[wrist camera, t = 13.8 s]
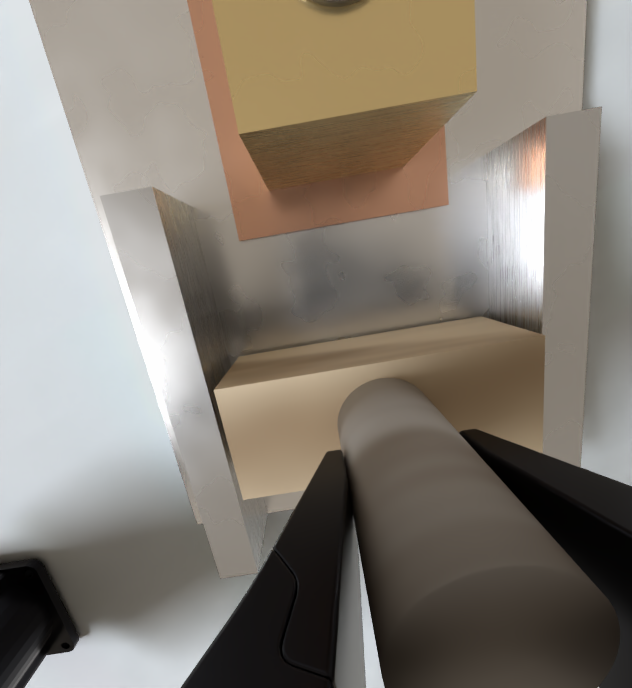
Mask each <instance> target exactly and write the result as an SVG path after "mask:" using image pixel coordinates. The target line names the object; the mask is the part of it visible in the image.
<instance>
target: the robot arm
mask: <svg viewBox="0 0 632 688" xmlns="http://www.w3.org/2000/svg"><path fill="white" fill-rule="evenodd" d="M459 434H460V435H461V436H462V437H463V438H464V439H465V440H466V441H467V442H468V444H469V445H470V446H471V447H472V448H473V449H474V450H475V451H476V452H477V454H478V455H479V456H480V457H481V458H482V459H483V460H484V461H485V463H486V464H487V465H488V466H489V467H490V468H491V469H492V470H493V471H494V473H495V474H496V475H497V476H498V477H499V478H500V479H501V480H502V481H503V483H504V484H505V485H506V486H507V487H508V488H509V489H510V490H511V491H512V493H513V494H514V495H515V496H516V497H517V498H518V499H519V500H520V502H521V503H522V504H523V505H524V506H525V507H526V508H527V509H528V510H529V512H530V513H531V514H532V515H533V516H534V517H535V518H536V519H537V520H538V522H539V523H540V524H541V525H542V526H543V527H544V528H545V529H546V531H547V532H548V533H549V534H550V535H551V536H552V537H553V538H554V539H555V541H556V542H557V543H558V544H559V545H560V546H561V547H562V548H563V549H564V551H565V552H566V553H567V554H568V555H569V556H570V557H571V558H572V559H573V561H574V562H575V563H576V564H577V565H578V566H579V567H580V568H581V570H582V571H583V572H584V573H585V574H586V575H587V576H588V577H589V578H590V580H591V581H592V582H593V583H594V584H595V585H596V586H597V587H598V588H599V590H600V591H601V592H602V593H603V594H604V595H605V596H606V597H607V598H608V600H609V601H610V603H611V605H612V606H613V608H614V610H615V612H616V615H617V617H618V621H619V626H620V644H619V649H618V653H617V656H616V659H615V661H614V664H613V666H612V667H611V669H610V671H609V673H608V675H607V676H606V677H605V679H604V680H603V681H602V683H601V684H600V685H599V688H632V486H629V485H626V484H624V483H621V482H618V481H616V480H613V479H610V478H607V477H605V476H602V475H599V474H597V473H594V472H591V471H589V470H586V469H583V468H580V467H578V466H575V465H572V464H570V463H567V462H564V461H562V460H559V459H556V458H553V457H551V456H548V455H545V454H543V453H540V452H537V451H535V450H532V449H529V448H526V447H524V446H521V445H518V444H516V443H513V442H510V441H508V440H505V439H502V438H499V437H497V436H494V435H491V434H489V433H486V432H483V431H481V430H478V429H468V430H462V431H460V432H459ZM78 641H79V636H78V634H77V632H76V630H75V628H74V626H73V624H72V622H71V620H70V618H69V616H68V614H67V612H66V610H65V608H64V606H63V604H62V602H61V600H60V598H59V596H58V594H57V592H56V589H55V587H54V585H53V583H52V581H51V579H50V577H49V575H48V573H47V571H46V569H45V567H44V565H43V564H42V563H41V562H40V561H38V560H35V559H31V560H25V561H18V562H12V563H5V564H0V688H25V686H26V685H27V683H28V682H29V680H30V679H31V677H32V676H33V674H34V673H35V671H36V670H37V668H38V667H39V665H40V664H41V662H42V661H43V659H44V658H45V656H46V655H51V654H57V653H64V652H70V651H72V650H73V649H74V648H75V646H76V644H77V643H78ZM181 688H366V679H365V661H364V643H363V625H362V607H361V589H360V571H359V554H358V543H357V536H356V529H355V523H354V517H353V512H352V504H351V497H350V490H349V484H348V478H347V472H346V466H345V461H344V456H343V452H342V450H333V451H327V452H326V454H325V455H324V457H323V459H322V461H321V462H320V464H319V466H318V468H317V470H316V471H315V473H314V475H313V477H312V479H311V480H310V482H309V484H308V486H307V488H306V489H305V491H304V493H303V495H302V497H301V498H300V500H299V502H298V504H297V505H296V507H295V509H294V511H293V513H292V514H291V516H290V518H289V520H288V522H287V523H286V525H285V527H284V529H283V531H282V532H281V534H280V536H279V538H278V540H277V541H276V543H275V545H274V547H273V550H272V551H271V552H270V553H269V555H268V557H267V559H266V561H265V562H264V564H263V566H262V568H261V569H260V571H259V573H258V574H257V576H256V578H255V579H254V581H253V583H252V584H251V586H250V588H249V589H248V591H247V593H246V594H245V596H244V597H243V599H242V600H241V602H240V603H239V605H238V606H237V608H236V609H235V611H234V612H233V614H232V615H231V617H230V618H229V620H228V621H227V622H226V624H225V625H224V627H223V628H222V630H221V631H220V632H219V634H218V635H217V637H216V638H215V640H214V641H213V642H212V644H211V645H210V647H209V648H208V649H207V651H206V652H205V654H204V655H203V657H202V658H201V659H200V661H199V662H198V664H197V665H196V667H195V668H194V669H193V671H192V672H191V674H190V675H189V677H188V678H187V679H186V681H185V682H184V684H183V685H182V687H181Z"/></svg>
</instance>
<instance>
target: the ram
mask: <svg viewBox="0 0 632 688" xmlns="http://www.w3.org/2000/svg"><path fill="white" fill-rule="evenodd" d="M544 370H545V335H543V334H539V333H536V332H533V331H529V330H526V329H522V328H519V327H516V326H512V325H509V324H506V323H502V322H499V321H495V320H492V319H489V318H485V317H482V316H479V317H473V318H467V319H461V320H455V321H449V322H443V323H437V324H431V325H425V326H419V327H413V328H407V329H401V330H395V331H389V332H383V333H377V334H371V335H365V336H359V337H353V338H347V339H341V340H335V341H329V342H323V343H317V344H311V345H305V346H299V347H293V348H287V349H281V350H275V351H269V352H263V353H257V354H251V355H246V356H240V357H238V358H237V360H236V361H235V362H234V364H233V365H232V366H231V368H230V369H229V370H228V372H227V373H226V374H225V376H224V377H223V378H222V380H221V381H220V382H219V384H218V385H217V386H216V387H215V389H214V394H215V397H216V401H217V405H218V408H219V412H220V416H221V420H222V423H223V427H224V431H225V435H226V438H227V442H228V446H229V449H230V453H231V457H232V461H233V464H234V468H235V472H236V475H237V479H238V483H239V487H240V490H241V494H242V498H243V500H246V499H253V498H259V497H265V496H272V495H278V494H284V493H291V492H297V491H303V490H305V489H306V488H307V486H308V484H309V482H310V480H311V479H312V477H313V475H314V473H315V471H316V470H317V468H318V466H319V464H320V462H321V461H322V459H323V457H324V455H325V454H326V452H327V451H333V450H342V452H343V456H344V461H345V466H346V472H347V478H348V484H349V490H350V497H351V504H352V512H353V517H354V523H355V528H356V534H357V539H358V545H359V551H360V556H361V562H362V567H363V573H364V579H365V584H366V590H367V595H368V601H369V606H370V612H371V618H372V623H373V629H374V634H375V640H376V646H377V651H378V657H379V662H380V668H381V674H382V678H383V682H384V686H385V688H597V687H598V686H599V685H600V684H601V683H602V681H603V680H604V679H605V677H606V676H607V675H608V673H609V671H610V669H611V667H612V666H613V664H614V661H615V659H616V656H617V653H618V649H619V644H620V626H619V621H618V617H617V615H616V612H615V610H614V608H613V606H612V605H611V603H610V601H609V600H608V598H607V597H606V596H605V595H604V594H603V593H602V592H601V591H600V590H599V588H598V587H597V586H596V585H595V584H594V583H593V582H592V581H591V580H590V578H589V577H588V576H587V575H586V574H585V573H584V572H583V571H582V570H581V568H580V567H579V566H578V565H577V564H576V563H575V562H574V561H573V559H572V558H571V557H570V556H569V555H568V554H567V553H566V552H565V551H564V549H563V548H562V547H561V546H560V545H559V544H558V543H557V542H556V541H555V539H554V538H553V537H552V536H551V535H550V534H549V533H548V532H547V531H546V529H545V528H544V527H543V526H542V525H541V524H540V523H539V522H538V520H537V519H536V518H535V517H534V516H533V515H532V514H531V513H530V512H529V510H528V509H527V508H526V507H525V506H524V505H523V504H522V503H521V502H520V500H519V499H518V498H517V497H516V496H515V495H514V494H513V493H512V491H511V490H510V489H509V488H508V487H507V486H506V485H505V484H504V483H503V481H502V480H501V479H500V478H499V477H498V476H497V475H496V474H495V473H494V471H493V470H492V469H491V468H490V467H489V466H488V465H487V464H486V463H485V461H484V460H483V459H482V458H481V457H480V456H479V455H478V454H477V452H476V451H475V450H474V449H473V448H472V447H471V446H470V445H469V444H468V442H467V441H466V440H465V439H464V438H463V437H462V436H461V435H460V434H459V432H460V431H462V430H468V429H478V430H481V431H483V432H486V433H489V434H491V435H494V436H497V437H499V438H502V439H505V440H508V441H510V442H513V443H516V444H518V445H521V446H524V447H526V448H529V449H532V450H535V451H537V452H540V453H543V414H544Z"/></svg>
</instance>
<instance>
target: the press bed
mask: <svg viewBox="0 0 632 688" xmlns="http://www.w3.org/2000/svg"><path fill="white" fill-rule="evenodd" d="M29 2H30V5H31V8H32V12H33V15H34V18H35V21H36V24H37V27H38V30H39V33H40V36H41V40H42V43H43V46H44V49H45V52H46V55H47V58H48V61H49V64H50V68H51V71H52V74H53V77H54V80H55V83H56V86H57V89H58V92H59V96H60V99H61V102H62V105H63V108H64V111H65V114H66V117H67V120H68V124H69V127H70V130H71V133H72V136H73V139H74V142H75V145H76V148H77V152H78V155H79V158H80V161H81V164H82V167H83V170H84V173H85V176H86V180H87V183H88V186H89V189H90V192H91V195H92V198H93V201H94V204H95V208H96V211H97V214H98V217H99V220H100V223H101V226H102V229H103V233H104V236H105V239H106V242H107V245H108V248H109V251H110V254H111V257H112V261H113V264H114V267H115V270H116V273H117V276H118V279H119V282H120V285H121V289H122V292H123V295H124V298H125V301H126V304H127V307H128V310H129V313H130V317H131V320H132V323H133V326H134V329H135V332H136V335H137V338H138V341H139V345H140V348H141V351H142V354H143V357H144V360H145V363H146V366H147V369H148V373H149V376H150V379H151V382H152V385H153V388H154V391H155V394H156V397H157V401H158V404H159V407H160V410H161V413H162V416H163V419H164V422H165V425H166V429H167V432H168V435H169V438H170V441H171V444H172V447H173V450H174V453H175V457H176V460H177V463H178V466H179V469H180V472H181V475H182V478H183V481H184V485H185V488H186V491H187V494H188V497H189V500H190V503H191V506H192V509H193V513H194V516H195V519H196V522H197V524H202V523H203V525H204V528H205V531H206V535H207V538H208V541H209V544H210V547H211V551H212V554H213V557H214V560H215V563H216V566H217V570H218V573H219V576H220V579H222V578H228V577H235V576H241V575H248V574H254V573H258V569H259V563H260V557H261V551H262V545H263V539H264V533H265V527H266V521H267V514H268V513H272V512H278V511H285V510H291V509H295V507H296V505H297V504H298V502H299V500H300V498H301V497H302V495H303V493H304V491H305V490H303V491H297V492H291V493H284V494H278V495H272V496H265V497H259V498H253V499H246V500H243V498H242V494H241V490H240V487H239V483H238V479H237V475H236V472H235V468H234V464H233V461H232V457H231V453H230V449H229V446H228V442H227V438H226V435H225V431H224V427H223V423H222V420H221V416H220V412H219V408H218V405H217V401H216V397H215V394H214V389H215V387H216V386H217V385H218V384H219V382H220V381H221V380H222V378H223V377H224V376H225V374H226V373H227V372H228V370H229V369H230V368H231V366H232V365H233V364H234V362H235V361H236V360H237V358H238V357H240V356H246V355H251V354H257V353H263V352H269V351H275V350H281V349H287V348H293V347H299V346H305V345H311V344H317V343H323V342H329V341H335V340H341V339H347V338H353V337H359V336H365V335H371V334H377V333H383V332H389V331H395V330H401V329H407V328H413V327H419V326H425V325H431V324H437V323H443V322H449V321H455V320H461V319H467V318H473V317H479V316H482V317H485V318H489V319H492V320H495V321H499V322H502V323H506V324H509V325H512V326H516V327H519V328H522V329H526V330H529V331H533V332H536V333H539V334H543V335H545V370H544V414H543V454H545V455H548V456H551V457H553V458H556V459H559V460H562V461H564V462H567V463H570V464H572V465H575V466H578V467H581V450H582V433H583V416H584V399H585V382H586V365H587V348H588V331H589V314H590V297H591V280H592V263H593V246H594V229H595V212H596V195H597V178H598V161H599V144H600V127H601V110H602V107H597V108H591V109H585V110H582V99H583V76H584V54H585V32H586V10H587V0H475V34H476V68H477V92H476V93H475V94H474V95H473V96H472V97H471V98H470V99H469V100H468V101H467V102H466V103H465V104H464V105H463V106H462V107H461V108H460V109H459V110H458V111H457V112H456V113H455V114H454V116H453V117H452V118H451V119H450V120H449V121H448V122H447V123H446V124H445V125H444V126H443V127H442V128H441V129H440V130H439V131H438V132H437V133H436V134H435V135H434V136H433V137H432V138H431V139H430V140H429V141H428V142H427V143H426V144H425V145H424V146H423V147H422V148H421V150H420V151H419V152H418V153H417V154H416V155H415V156H414V157H413V158H412V159H411V160H410V161H409V162H408V163H407V164H406V165H405V166H404V167H398V168H393V169H387V170H381V171H376V172H370V173H364V174H359V175H353V176H347V177H342V178H336V179H330V180H325V181H319V182H313V183H308V184H302V185H296V186H291V187H285V188H279V189H274V190H268V188H267V186H266V184H265V183H264V181H263V179H262V177H261V175H260V173H259V171H258V169H257V168H256V166H255V164H254V162H253V160H252V158H251V156H250V154H249V153H248V151H247V149H246V147H245V145H244V143H243V141H242V139H241V138H240V136H239V133H238V128H237V123H236V118H235V113H234V108H233V103H232V98H231V93H230V88H229V84H228V79H227V74H226V69H225V64H224V59H223V54H222V49H221V44H220V39H219V34H218V29H217V24H216V19H215V14H214V9H213V4H212V0H29Z"/></svg>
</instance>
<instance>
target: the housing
mask: <svg viewBox="0 0 632 688" xmlns="http://www.w3.org/2000/svg"><path fill="white" fill-rule="evenodd" d="M212 4H213V9H214V14H215V19H216V24H217V29H218V34H219V39H220V44H221V49H222V54H223V59H224V64H225V69H226V74H227V79H228V84H229V88H230V93H231V98H232V103H233V108H234V113H235V118H236V123H237V128H238V133H239V136H240V138H241V139H242V141H243V143H244V145H245V147H246V149H247V151H248V153H249V154H250V156H251V158H252V160H253V162H254V164H255V166H256V168H257V169H258V171H259V173H260V175H261V177H262V179H263V181H264V183H265V184H266V186H267V188H268V190H274V189H279V188H285V187H291V186H296V185H302V184H308V183H313V182H319V181H325V180H330V179H336V178H342V177H347V176H353V175H359V174H364V173H370V172H376V171H381V170H387V169H393V168H398V167H404V166H405V165H406V164H407V163H408V162H409V161H410V160H411V159H412V158H413V157H414V156H415V155H416V154H417V153H418V152H419V151H420V150H421V148H422V147H423V146H424V145H425V144H426V143H427V142H428V141H429V140H430V139H431V138H432V137H433V136H434V135H435V134H436V133H437V132H438V131H439V130H440V129H441V128H442V127H443V126H444V125H445V124H446V123H447V122H448V121H449V120H450V119H451V118H452V117H453V116H454V114H455V113H456V112H457V111H458V110H459V109H460V108H461V107H462V106H463V105H464V104H465V103H466V102H467V101H468V100H469V99H470V98H471V97H472V96H473V95H474V94H475V93H476V92H477V68H476V34H475V0H212Z"/></svg>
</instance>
